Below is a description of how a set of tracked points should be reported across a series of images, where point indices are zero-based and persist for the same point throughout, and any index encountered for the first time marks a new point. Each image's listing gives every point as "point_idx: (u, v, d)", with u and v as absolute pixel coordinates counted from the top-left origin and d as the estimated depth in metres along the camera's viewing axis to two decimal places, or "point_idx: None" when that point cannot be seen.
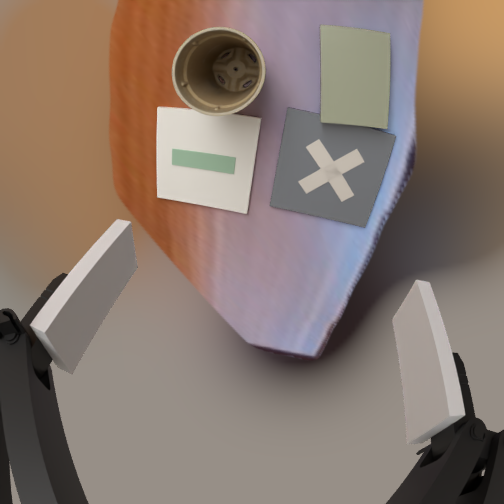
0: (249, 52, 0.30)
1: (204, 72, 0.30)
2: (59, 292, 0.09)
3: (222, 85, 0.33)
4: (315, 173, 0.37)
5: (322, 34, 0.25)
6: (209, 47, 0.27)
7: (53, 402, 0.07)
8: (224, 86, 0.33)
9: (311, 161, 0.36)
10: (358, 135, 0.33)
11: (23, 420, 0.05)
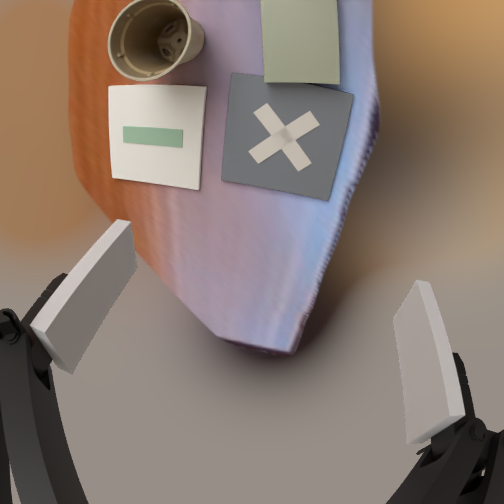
0: None
1: (146, 45, 0.27)
2: (59, 292, 0.09)
3: (167, 57, 0.29)
4: (266, 140, 0.34)
5: None
6: (148, 19, 0.23)
7: (53, 402, 0.07)
8: (169, 59, 0.29)
9: (260, 128, 0.33)
10: (310, 96, 0.30)
11: (23, 420, 0.05)
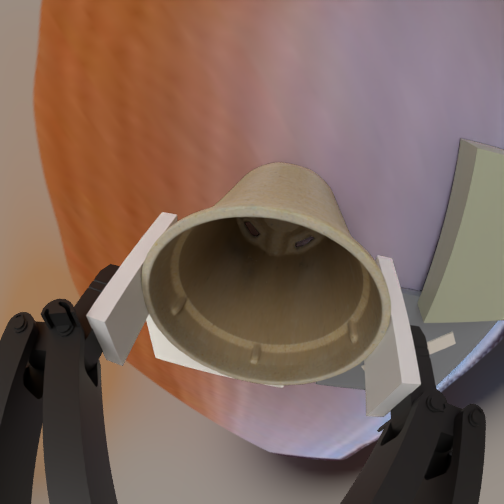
0: None
1: (217, 229, 0.16)
2: (114, 282, 0.10)
3: (253, 240, 0.19)
4: None
5: (476, 171, 0.11)
6: (228, 193, 0.13)
7: (98, 400, 0.08)
8: (256, 242, 0.19)
9: None
10: None
11: (67, 418, 0.06)
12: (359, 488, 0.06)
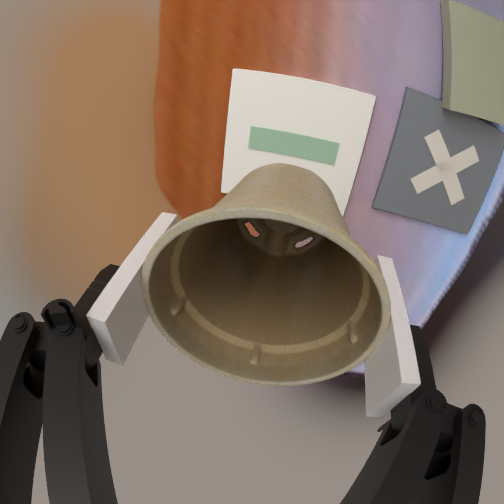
0: None
1: (217, 230, 0.16)
2: (115, 282, 0.10)
3: (253, 241, 0.19)
4: (430, 170, 0.27)
5: (451, 9, 0.15)
6: (229, 194, 0.13)
7: (98, 399, 0.08)
8: (256, 243, 0.19)
9: (427, 156, 0.26)
10: (476, 130, 0.23)
11: (67, 418, 0.06)
12: (359, 488, 0.06)
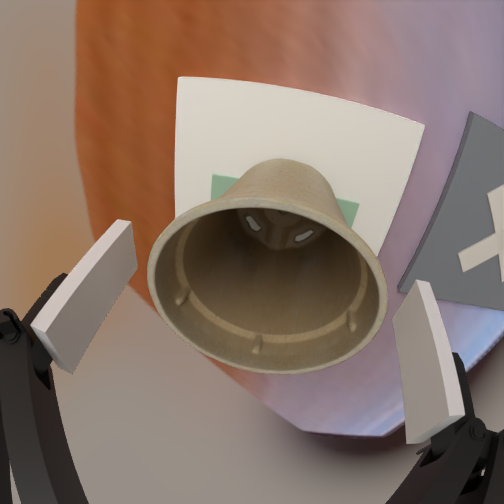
0: None
1: (219, 223, 0.17)
2: (59, 292, 0.09)
3: (254, 234, 0.19)
4: (486, 240, 0.16)
5: None
6: (231, 187, 0.13)
7: (53, 402, 0.07)
8: (257, 236, 0.19)
9: (486, 220, 0.16)
10: None
11: (23, 420, 0.05)
12: None
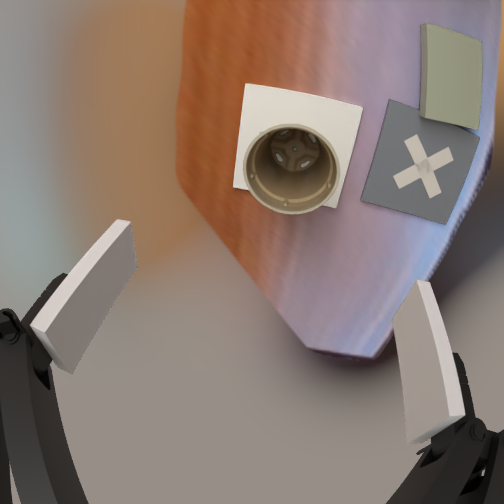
0: (309, 132, 0.33)
1: (265, 152, 0.33)
2: (59, 292, 0.09)
3: (280, 163, 0.36)
4: (410, 168, 0.33)
5: (428, 32, 0.21)
6: None
7: (53, 402, 0.07)
8: (281, 164, 0.36)
9: (407, 156, 0.32)
10: (450, 134, 0.29)
11: (23, 420, 0.05)
12: None
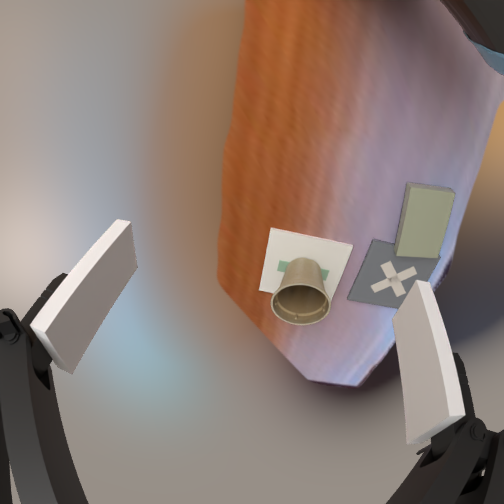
0: None
1: None
2: (59, 292, 0.09)
3: None
4: (383, 281, 0.51)
5: (410, 195, 0.39)
6: (291, 272, 0.48)
7: (53, 402, 0.07)
8: None
9: (382, 274, 0.50)
10: (416, 258, 0.46)
11: (23, 420, 0.05)
12: None
